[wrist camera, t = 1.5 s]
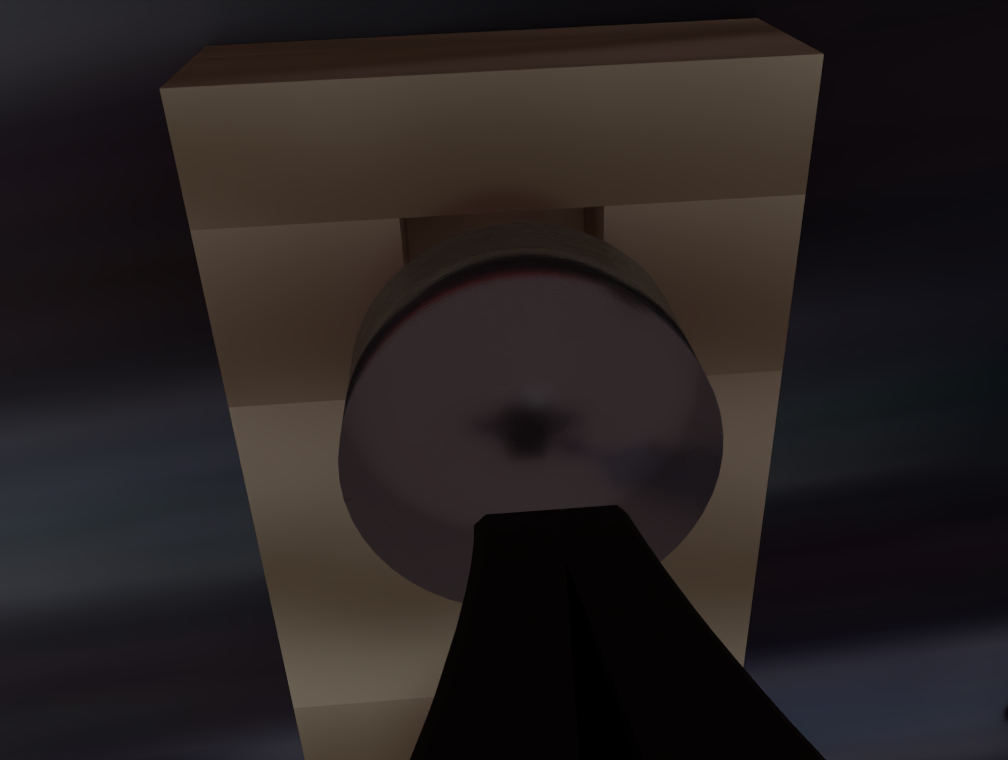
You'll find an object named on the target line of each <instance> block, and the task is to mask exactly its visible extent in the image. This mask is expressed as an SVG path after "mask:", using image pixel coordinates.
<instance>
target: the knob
mask: <svg viewBox="0 0 1008 760" xmlns="http://www.w3.org/2000/svg"><path fill="white" fill-rule="evenodd" d="M722 456H723V427H722V420H721V412H720V409H719V406H718V403H717V399H716V396H715V393H714V391H713V389H712V387H711V385H710V383H709V381H708V379H707V377H706V375H705V373H704V371H703V369H702V367H701V365H700V363H699V361H698V359H697V357H696V355H695V353H694V351H693V349H692V347H691V346H690V344H689V342H688V340H687V338H686V336H685V334H684V332H683V330H682V328H681V326H680V324H679V322H678V321H677V319H676V317H675V315H674V313H673V311H672V309H671V307H670V305H669V303H668V301H667V299H666V297H665V296H664V294H663V293H662V291H661V290H660V288H659V287H658V286H657V284H656V283H655V281H654V280H653V279H652V278H651V277H650V275H649V274H648V273H647V272H646V271H645V270H644V269H643V268H642V267H641V266H640V265H639V264H638V263H637V262H635V261H634V260H633V259H632V258H630V257H629V256H628V255H626V254H625V253H624V252H623V251H621V250H619V249H618V248H616V247H614V246H612V245H611V244H609V243H607V242H606V241H604V240H602V239H599V238H597V237H594V236H592V235H590V234H587V233H585V232H582V231H578V230H575V229H571V228H567V227H563V226H559V225H551V224H544V223H505V224H497V225H489V226H485V227H481V228H477V229H473V230H469V231H466V232H463V233H461V234H458V235H455V236H453V237H450V238H448V239H445V240H443V241H441V242H439V243H437V244H436V245H434V246H432V247H430V248H428V249H426V250H425V251H423V252H422V253H420V254H419V255H417V256H416V257H415V258H413V259H412V260H411V261H409V262H408V263H406V264H405V265H404V266H403V267H402V268H401V269H400V270H399V271H398V272H397V273H396V274H395V275H393V276H392V277H391V278H390V279H389V280H388V282H387V283H386V284H385V285H384V287H383V288H382V289H381V290H380V292H379V293H378V294H377V295H376V297H375V298H374V300H373V302H372V303H371V305H370V307H369V309H368V310H367V312H366V314H365V316H364V318H363V321H362V323H361V325H360V328H359V330H358V333H357V336H356V340H355V344H354V348H353V352H352V359H351V366H350V373H349V379H348V386H347V393H346V400H345V406H344V413H343V420H342V427H341V433H340V441H339V453H338V469H339V481H340V486H341V490H342V494H343V498H344V502H345V504H346V507H347V509H348V512H349V514H350V517H351V519H352V521H353V523H354V524H355V526H356V528H357V529H358V531H359V533H360V534H361V536H362V538H363V539H364V540H365V541H366V543H367V544H368V545H369V546H370V547H371V549H372V550H373V551H374V552H375V554H376V555H377V556H379V557H380V558H381V559H382V560H383V561H384V562H385V563H386V564H387V565H388V566H389V567H390V568H392V569H393V570H394V571H396V572H397V573H399V574H400V575H401V576H403V577H404V578H406V579H407V580H408V581H410V582H412V583H414V584H416V585H418V586H419V587H421V588H423V589H425V590H427V591H429V592H432V593H434V594H436V595H439V596H441V597H444V598H446V599H449V600H453V601H456V602H460V603H463V599H464V595H465V591H466V587H467V582H468V577H469V572H470V566H471V560H472V552H473V544H474V525H475V524H476V523H477V522H478V521H479V520H480V519H481V518H482V517H483V516H485V515H486V514H498V513H511V512H525V511H539V510H553V509H566V508H580V507H594V506H607V505H618V506H619V507H620V508H621V509H623V510H624V511H625V512H626V513H627V514H628V515H629V516H630V518H631V519H632V521H633V523H634V524H635V526H636V527H637V529H638V530H639V532H640V533H641V535H642V536H643V538H644V539H645V541H646V542H647V544H648V545H649V547H650V548H651V549H652V551H653V552H654V554H655V555H656V557H657V558H658V559H659V561H660V562H661V561H662V560H663V559H664V558H665V557H666V556H668V555H669V554H670V553H671V552H672V551H673V550H674V549H675V548H676V547H677V546H678V545H679V544H680V543H681V542H682V541H683V540H684V538H685V537H686V536H687V535H688V534H689V533H690V532H691V530H692V529H693V527H694V526H695V524H696V523H697V521H698V520H699V518H700V517H701V516H702V514H703V512H704V510H705V508H706V506H707V504H708V502H709V500H710V498H711V496H712V494H713V492H714V489H715V486H716V483H717V480H718V477H719V473H720V468H721V462H722Z"/></svg>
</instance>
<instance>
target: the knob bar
mask: <svg viewBox="0 0 1008 760" xmlns="http://www.w3.org/2000/svg"><path fill="white" fill-rule="evenodd" d="M823 57H824V54H823V53H821V52H819V51H817V50H816V49H814V48H812V47H810V46H808V45H806V44H804V43H803V42H801V41H799V40H797V39H795V38H793V37H791V36H790V35H788V34H786V33H784V32H782V31H780V30H778V29H777V28H775V27H773V26H771V25H769V24H767V23H766V22H764V21H762V20H760V19H758V18H748V19H728V20H708V21H688V22H669V23H649V24H629V25H609V26H589V27H569V28H549V29H529V30H509V31H489V32H469V33H449V34H429V35H409V36H389V37H370V38H350V39H330V40H310V41H290V42H270V43H250V44H230V45H210V46H205V47H204V48H203V49H202V50H201V51H200V52H199V53H198V54H196V55H195V56H194V57H193V58H192V59H191V60H190V61H189V62H188V63H187V64H186V65H185V66H183V67H182V68H181V69H180V70H179V71H178V72H177V73H176V74H175V75H174V76H173V77H172V78H170V79H169V80H168V81H167V82H166V83H165V84H164V85H163V86H162V87H161V88H160V93H161V97H162V102H163V107H164V111H165V116H166V120H167V125H168V130H169V134H170V139H171V143H172V148H173V153H174V157H175V162H176V167H177V171H178V176H179V180H180V185H181V190H182V194H183V199H184V204H185V208H186V213H187V217H188V222H189V227H190V231H191V236H192V240H193V245H194V250H195V254H196V259H197V264H198V268H199V273H200V277H201V282H202V287H203V291H204V296H205V300H206V305H207V310H208V314H209V319H210V324H211V328H212V333H213V337H214V342H215V347H216V351H217V356H218V360H219V365H220V370H221V374H222V379H223V384H224V388H225V393H226V397H227V402H228V407H229V411H230V416H231V421H232V425H233V430H234V434H235V439H236V444H237V448H238V453H239V457H240V462H241V467H242V471H243V476H244V481H245V485H246V490H247V494H248V499H249V504H250V508H251V513H252V517H253V522H254V527H255V531H256V536H257V541H258V545H259V550H260V554H261V559H262V564H263V568H264V573H265V577H266V582H267V587H268V591H269V596H270V601H271V605H272V610H273V614H274V619H275V624H276V628H277V633H278V638H279V642H280V647H281V651H282V656H283V661H284V665H285V670H286V674H287V679H288V684H289V688H290V693H291V698H292V702H293V707H294V711H295V716H296V721H297V725H298V730H299V734H300V739H301V744H302V748H303V753H304V758H305V760H410V758H411V755H412V753H413V750H414V748H415V745H416V743H417V740H418V738H419V735H420V733H421V730H422V728H423V725H424V723H425V720H426V718H427V715H428V712H429V710H430V707H431V704H432V701H433V698H434V696H435V693H436V690H437V687H438V683H439V680H440V677H441V674H442V671H443V668H444V665H445V661H446V658H447V655H448V652H449V649H450V646H451V643H452V639H453V636H454V633H455V630H456V627H457V623H458V619H459V615H460V611H461V607H462V603H460V602H456V601H453V600H449V599H446V598H444V597H441V596H439V595H436V594H434V593H432V592H429V591H427V590H425V589H423V588H421V587H419V586H418V585H416V584H414V583H412V582H410V581H408V580H407V579H406V578H404V577H403V576H401V575H400V574H399V573H397V572H396V571H394V570H393V569H392V568H390V567H389V566H388V565H387V564H386V563H385V562H384V561H383V560H382V559H381V558H380V557H379V556H377V555H376V554H375V552H374V551H373V550H372V549H371V547H370V546H369V545H368V544H367V543H366V541H365V540H364V539H363V538H362V536H361V534H360V533H359V531H358V529H357V528H356V526H355V524H354V523H353V521H352V519H351V517H350V514H349V512H348V509H347V507H346V504H345V502H344V498H343V494H342V490H341V486H340V481H339V469H338V453H339V441H340V433H341V427H342V420H343V413H344V406H345V400H346V393H347V386H348V379H349V373H350V366H351V359H352V352H353V348H354V344H355V340H356V336H357V333H358V330H359V328H360V325H361V323H362V321H363V318H364V316H365V314H366V312H367V310H368V309H369V307H370V305H371V303H372V302H373V300H374V298H375V297H376V295H377V294H378V293H379V292H380V290H381V289H382V288H383V287H384V285H385V284H386V283H387V282H388V280H389V279H390V278H391V277H392V276H393V275H395V274H396V273H397V272H398V271H399V270H400V269H401V268H402V267H403V266H404V265H405V264H406V263H408V262H409V261H411V260H412V259H413V258H415V257H416V256H417V255H419V254H420V253H422V252H423V251H425V250H426V249H428V248H430V247H432V246H434V245H436V244H437V243H439V242H441V241H443V240H445V239H448V238H450V237H453V236H455V235H458V234H461V233H463V232H466V231H469V230H473V229H477V228H481V227H485V226H489V225H497V224H505V223H544V224H551V225H559V226H563V227H567V228H571V229H575V230H578V231H582V232H585V233H587V234H590V235H592V236H594V237H597V238H599V239H602V240H604V241H606V242H607V243H609V244H611V245H612V246H614V247H616V248H618V249H619V250H621V251H623V252H624V253H625V254H626V255H628V256H629V257H630V258H632V259H633V260H634V261H635V262H637V263H638V264H639V265H640V266H641V267H642V268H643V269H644V270H645V271H646V272H647V273H648V274H649V275H650V277H651V278H652V279H653V280H654V281H655V283H656V284H657V286H658V287H659V288H660V290H661V291H662V293H663V294H664V296H665V297H666V299H667V301H668V303H669V305H670V307H671V309H672V311H673V313H674V315H675V317H676V319H677V321H678V322H679V324H680V326H681V328H682V330H683V332H684V334H685V336H686V338H687V340H688V342H689V344H690V346H691V347H692V349H693V351H694V353H695V355H696V357H697V359H698V361H699V363H700V365H701V367H702V369H703V371H704V373H705V375H706V377H707V379H708V381H709V383H710V385H711V387H712V389H713V391H714V393H715V396H716V399H717V403H718V406H719V409H720V412H721V420H722V427H723V456H722V462H721V468H720V473H719V477H718V480H717V483H716V486H715V489H714V492H713V494H712V496H711V498H710V500H709V502H708V504H707V506H706V508H705V510H704V512H703V514H702V516H701V517H700V518H699V520H698V521H697V523H696V524H695V526H694V527H693V529H692V530H691V532H690V533H689V534H688V535H687V536H686V537H685V538H684V540H683V541H682V542H681V543H680V544H679V545H678V546H677V547H676V548H675V549H674V550H673V551H672V552H671V553H670V554H669V555H668V556H666V557H665V558H664V559H663V560H662V561H661V564H662V565H663V566H664V568H665V569H666V571H667V572H668V573H669V575H670V576H671V577H672V579H673V580H674V581H675V583H676V584H677V585H678V587H679V588H680V589H681V591H682V592H683V593H684V595H685V596H686V597H687V599H688V600H689V601H690V603H691V604H692V605H693V607H694V608H695V609H696V610H697V612H698V613H699V614H700V616H701V617H702V618H703V619H704V621H705V622H706V623H707V624H708V626H709V627H710V628H711V629H712V631H713V632H714V633H715V634H716V636H717V637H718V638H719V639H720V640H721V641H722V643H723V644H724V645H725V646H726V647H727V649H728V650H729V651H730V652H731V653H732V655H733V656H734V657H735V658H736V659H737V661H738V662H739V663H740V664H741V665H742V667H743V665H744V658H745V650H746V643H747V635H748V627H749V620H750V612H751V605H752V597H753V589H754V582H755V574H756V567H757V559H758V551H759V544H760V536H761V529H762V521H763V513H764V506H765V498H766V490H767V483H768V475H769V468H770V460H771V452H772V445H773V437H774V430H775V422H776V414H777V407H778V399H779V392H780V384H781V376H782V369H783V361H784V353H785V346H786V338H787V331H788V323H789V315H790V308H791V300H792V293H793V285H794V277H795V270H796V262H797V255H798V247H799V239H800V232H801V224H802V217H803V209H804V201H805V194H806V186H807V178H808V171H809V163H810V156H811V148H812V140H813V133H814V125H815V118H816V110H817V102H818V95H819V87H820V80H821V72H822V64H823Z"/></svg>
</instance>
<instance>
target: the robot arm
mask: <svg viewBox="0 0 1008 760" xmlns="http://www.w3.org/2000/svg"><path fill="white" fill-rule="evenodd" d="M410 760H826V759H825V758H824V757H823V756H822V755H821V754H820V753H819V752H818V751H817V750H816V749H815V748H814V747H813V745H812V744H811V743H810V742H809V741H808V740H807V739H806V738H805V737H804V736H803V735H802V734H801V733H800V732H799V730H798V729H797V728H796V727H795V726H794V725H793V724H792V723H791V722H790V721H789V720H788V719H787V717H786V716H785V715H784V714H783V713H782V712H781V711H780V710H779V708H778V707H777V706H776V705H775V704H774V703H773V702H772V701H771V699H770V698H769V697H768V696H767V695H766V694H765V693H764V691H763V690H762V689H761V688H760V687H759V686H758V685H757V683H756V682H755V681H754V680H753V679H752V677H751V676H750V675H749V674H748V673H747V671H746V670H745V669H744V668H743V667H742V665H741V664H740V663H739V662H738V661H737V659H736V658H735V657H734V656H733V655H732V653H731V652H730V651H729V650H728V649H727V647H726V646H725V645H724V644H723V643H722V641H721V640H720V639H719V638H718V637H717V636H716V634H715V633H714V632H713V631H712V629H711V628H710V627H709V626H708V624H707V623H706V622H705V621H704V619H703V618H702V617H701V616H700V614H699V613H698V612H697V610H696V609H695V608H694V607H693V605H692V604H691V603H690V601H689V600H688V599H687V597H686V596H685V595H684V593H683V592H682V591H681V589H680V588H679V587H678V585H677V584H676V583H675V581H674V580H673V579H672V577H671V576H670V575H669V573H668V572H667V571H666V569H665V568H664V566H663V565H662V564H661V562H660V561H659V559H658V558H657V557H656V555H655V554H654V552H653V551H652V549H651V548H650V547H649V545H648V544H647V542H646V541H645V539H644V538H643V536H642V535H641V533H640V532H639V530H638V529H637V527H636V526H635V524H634V523H633V521H632V519H631V518H630V516H629V515H628V514H627V513H626V512H625V511H624V510H623V509H621V508H620V507H619V506H618V505H607V506H594V507H580V508H566V509H553V510H539V511H525V512H511V513H498V514H486V515H485V516H483V517H482V518H481V519H480V520H479V521H478V522H477V523H476V524H475V525H474V544H473V552H472V560H471V566H470V572H469V577H468V582H467V587H466V591H465V595H464V599H463V603H462V607H461V611H460V615H459V619H458V623H457V627H456V630H455V633H454V636H453V639H452V643H451V646H450V649H449V652H448V655H447V658H446V661H445V665H444V668H443V671H442V674H441V677H440V680H439V683H438V687H437V690H436V693H435V696H434V698H433V701H432V704H431V707H430V710H429V712H428V715H427V718H426V720H425V723H424V725H423V728H422V730H421V733H420V735H419V738H418V740H417V743H416V745H415V748H414V750H413V753H412V755H411V758H410Z"/></svg>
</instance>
